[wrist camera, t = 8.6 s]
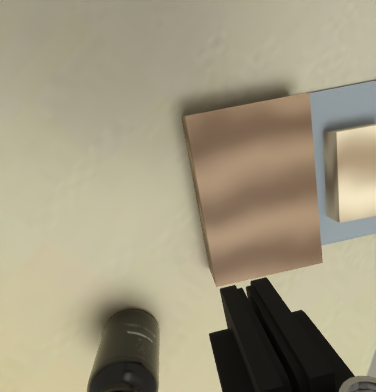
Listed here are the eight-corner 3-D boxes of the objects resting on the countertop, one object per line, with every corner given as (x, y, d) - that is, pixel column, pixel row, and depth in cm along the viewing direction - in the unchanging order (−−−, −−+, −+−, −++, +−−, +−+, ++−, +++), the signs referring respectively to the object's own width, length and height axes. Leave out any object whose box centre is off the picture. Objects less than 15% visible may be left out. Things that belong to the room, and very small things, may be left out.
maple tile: (391, 122, 30) (373, 123, 32) (336, 132, 29) (322, 131, 32) (390, 212, 32) (373, 207, 34) (339, 222, 32) (326, 216, 34)
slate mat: (294, 95, 31) (296, 95, 30) (390, 77, 31) (392, 77, 31) (308, 247, 35) (309, 248, 35) (391, 228, 36) (393, 229, 35)
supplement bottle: (154, 302, 35) (152, 389, 23) (163, 348, 36) (165, 451, 25) (98, 312, 34) (67, 406, 23) (109, 359, 36) (85, 469, 24)
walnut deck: (181, 117, 30) (185, 115, 26) (290, 96, 31) (309, 92, 27) (209, 269, 34) (216, 286, 31) (304, 247, 35) (322, 262, 31)
